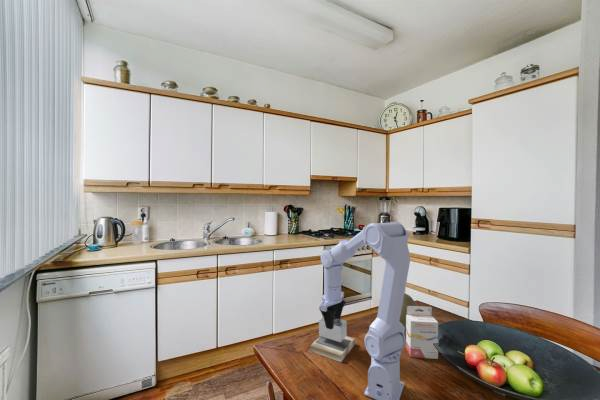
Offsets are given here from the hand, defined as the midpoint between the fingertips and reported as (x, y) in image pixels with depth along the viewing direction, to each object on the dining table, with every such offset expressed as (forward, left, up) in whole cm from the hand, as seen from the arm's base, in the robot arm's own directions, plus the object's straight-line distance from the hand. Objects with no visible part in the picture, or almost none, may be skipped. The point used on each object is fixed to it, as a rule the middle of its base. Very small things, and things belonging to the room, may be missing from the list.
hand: (332, 324), depth 87 cm
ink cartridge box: (+12, -26, -8) cm, 30 cm away
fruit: (+23, -18, -8) cm, 30 cm away
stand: (0, 0, -8) cm, 8 cm away
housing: (0, 0, -4) cm, 4 cm away
